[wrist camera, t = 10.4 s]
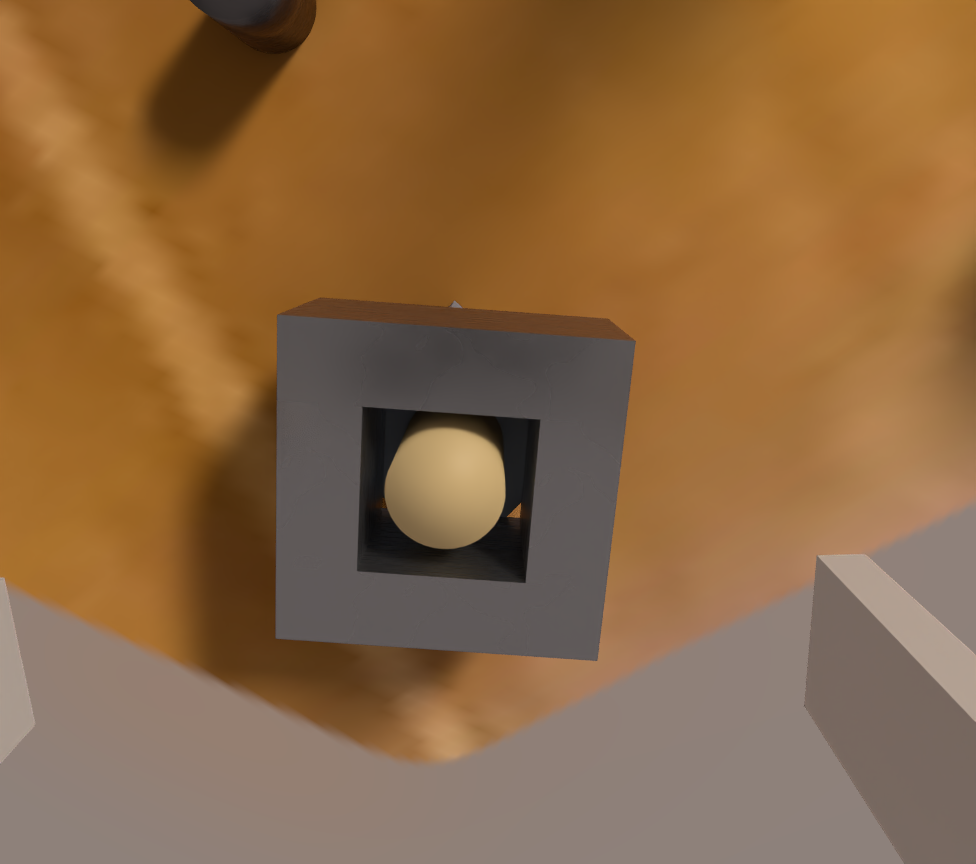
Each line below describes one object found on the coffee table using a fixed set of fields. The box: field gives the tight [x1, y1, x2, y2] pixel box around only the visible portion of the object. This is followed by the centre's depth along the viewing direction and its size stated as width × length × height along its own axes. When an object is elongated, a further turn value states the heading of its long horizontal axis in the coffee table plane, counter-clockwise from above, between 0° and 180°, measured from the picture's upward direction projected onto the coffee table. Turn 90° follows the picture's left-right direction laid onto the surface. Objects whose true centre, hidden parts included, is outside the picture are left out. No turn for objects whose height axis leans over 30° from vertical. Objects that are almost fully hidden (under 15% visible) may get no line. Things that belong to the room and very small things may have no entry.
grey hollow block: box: [276, 298, 636, 661], centre depth 23 cm, size 9×9×5 cm
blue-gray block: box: [383, 301, 529, 549], centre depth 25 cm, size 6×6×9 cm
